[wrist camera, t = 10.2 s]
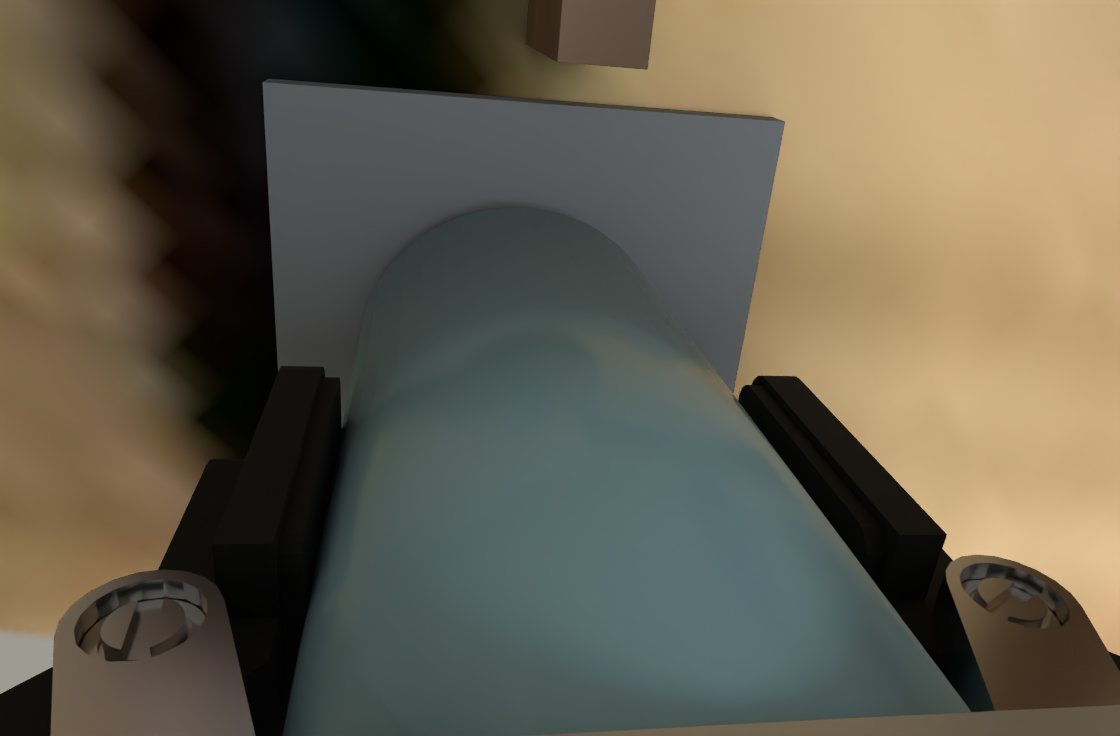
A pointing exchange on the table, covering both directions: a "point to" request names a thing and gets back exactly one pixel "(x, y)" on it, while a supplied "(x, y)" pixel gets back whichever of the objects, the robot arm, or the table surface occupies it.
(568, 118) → the coaster
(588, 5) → the brown u-shaped frame
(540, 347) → the jug
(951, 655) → the robot arm
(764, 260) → the table surface
